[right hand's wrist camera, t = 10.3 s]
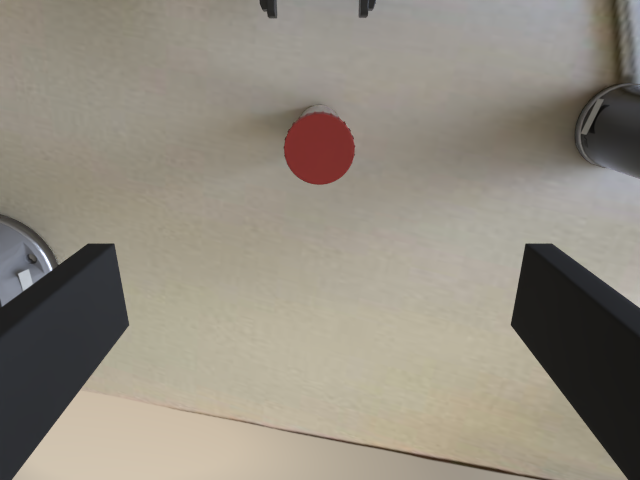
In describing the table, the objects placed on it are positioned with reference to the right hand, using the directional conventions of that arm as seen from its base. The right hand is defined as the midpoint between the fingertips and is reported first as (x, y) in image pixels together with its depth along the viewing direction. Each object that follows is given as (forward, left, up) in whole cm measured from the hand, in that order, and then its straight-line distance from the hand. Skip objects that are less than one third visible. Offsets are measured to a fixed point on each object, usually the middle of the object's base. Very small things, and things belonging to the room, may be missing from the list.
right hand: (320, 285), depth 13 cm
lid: (0, 0, -24) cm, 24 cm away
